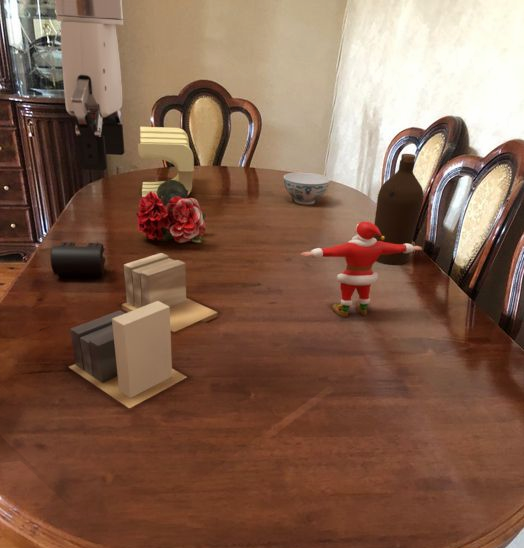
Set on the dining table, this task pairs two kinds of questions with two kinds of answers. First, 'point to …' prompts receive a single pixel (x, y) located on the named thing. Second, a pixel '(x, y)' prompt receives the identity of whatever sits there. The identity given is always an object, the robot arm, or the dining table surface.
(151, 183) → the slatted curved stool
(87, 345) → the grey book stand
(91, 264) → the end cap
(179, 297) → the cream book stand
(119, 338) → the cream book
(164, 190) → the carnation
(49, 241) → the dining table surface
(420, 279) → the dining table surface
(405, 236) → the olive oil
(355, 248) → the santa figurine
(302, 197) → the chinaware
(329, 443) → the dining table surface
